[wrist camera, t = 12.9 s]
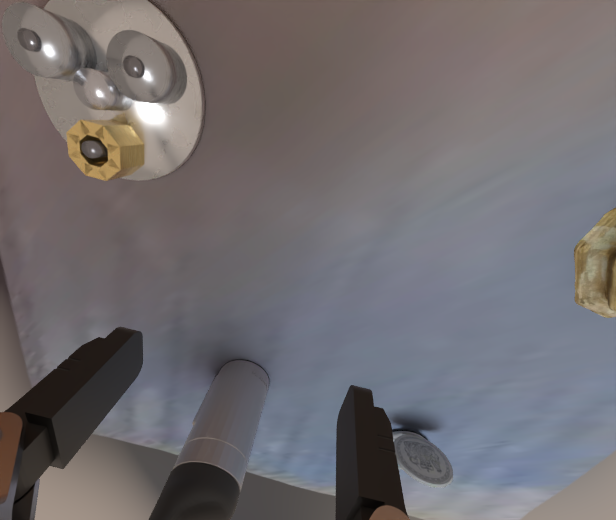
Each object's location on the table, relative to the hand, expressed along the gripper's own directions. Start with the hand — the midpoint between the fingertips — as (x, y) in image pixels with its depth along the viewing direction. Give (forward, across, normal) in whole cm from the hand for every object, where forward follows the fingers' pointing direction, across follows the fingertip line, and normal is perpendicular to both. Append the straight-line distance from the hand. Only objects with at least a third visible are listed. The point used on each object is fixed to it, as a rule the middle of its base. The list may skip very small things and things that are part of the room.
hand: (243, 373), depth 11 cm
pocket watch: (+30, -28, +42) cm, 59 cm away
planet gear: (+29, +25, 0) cm, 38 cm away
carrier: (+30, +25, -6) cm, 39 cm away
